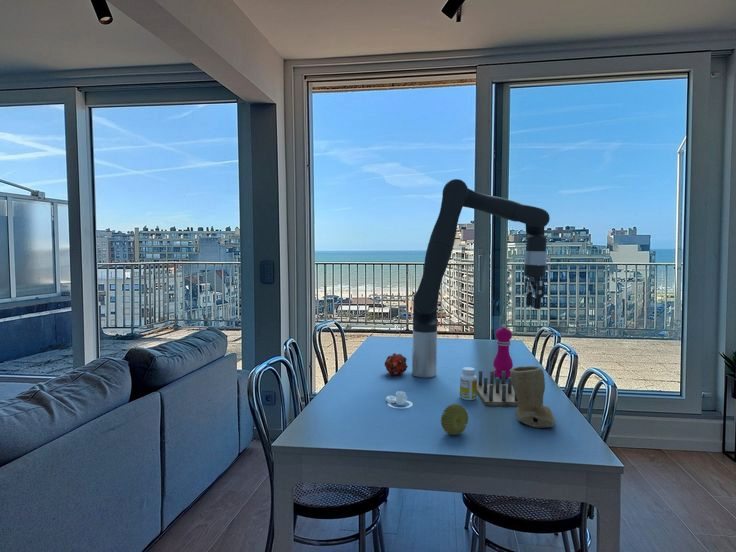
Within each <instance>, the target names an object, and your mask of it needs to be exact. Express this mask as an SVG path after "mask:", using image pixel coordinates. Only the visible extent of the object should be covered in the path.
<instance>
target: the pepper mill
mask: <svg viewBox="0 0 736 552" xmlns="http://www.w3.org/2000/svg"><path fill="white" fill-rule="evenodd" d="M512 337H513V333H512V331H511V329H509V328H507V325H506V324H505V323H503V324H501V327H500V328H498V329H497V330H496V331H495V338H496V339H497V340H496V345H497V352H496V355H495V357H494V359H493V363H492V365H493V367H494V370H493V371H494V377H499V378H500V379H502V371H506V375H505V379H508V378H509V377H510V371H511V369H512V368H514V367H513V366H514V364H513V360H512V357H511V354H510V346H511V341H510V340H511V339H512Z"/></svg>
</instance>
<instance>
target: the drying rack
mask: <svg viewBox="0 0 736 552" xmlns="http://www.w3.org/2000/svg"><path fill="white" fill-rule="evenodd" d="M489 371H490V372H489V374H490V378H489V384H488V376H484V377H483V370H478V383H477V395H478V396H479V398H480V400H481V401H482V403H483V404H484V406H491V407H493V406H495V407H496V406H497V407H498V406H499V407H500V406H503V407H504V406H506V407H507V406H510V407H518V400H517V397H516V394H515V392H514V389H513V386H512V383H511V377H509V378H507V384H506V378H505V375H506V371H502V378H500V377H497V376H495V375H494V371H495V370H489ZM500 379H501V381H500ZM494 382H495V383H494Z"/></svg>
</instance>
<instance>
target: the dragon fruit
mask: <svg viewBox="0 0 736 552" xmlns="http://www.w3.org/2000/svg"><path fill="white" fill-rule="evenodd" d="M396 353H397V352H395V353H392V355H388V356H387V358H386V360H385V361H384V367H385V368H386V369H385V370H386V371H387V372H388V373H389V376H391V377H392V376H396V375H400V376H401V375H403V373H405V372H406V370H407V368H408V365H407V360H408V359H407V358H406V356H403V354H401V353H398V354H396Z"/></svg>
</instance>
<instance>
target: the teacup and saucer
mask: <svg viewBox="0 0 736 552" xmlns="http://www.w3.org/2000/svg"><path fill="white" fill-rule="evenodd" d="M385 400H386V401H387V405H388V407H391V408H393V409H399V410H400V409H402V410H403V409H409V408H412V407H413V406H414V404H413V402H412V401H410V400H408V396H407V395H406V392H405V391H402V390H401V391H400V390H399V391H398V390H397V391H396V392H395V396H394V395H387V396H386V398H385ZM406 403H407V404H409V405H407V406H405V407H404V405H405V404H406ZM392 404H396V405H397V406H393V405H392ZM399 406H400V407H399ZM402 406H403V407H402Z"/></svg>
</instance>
